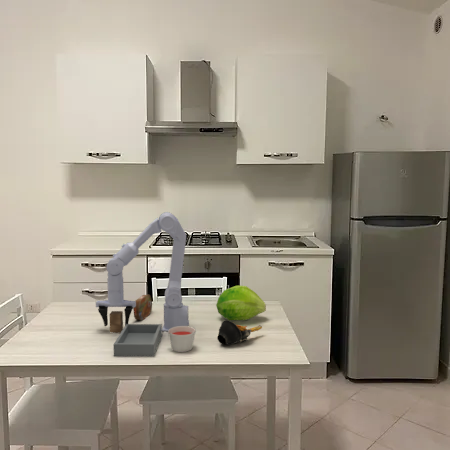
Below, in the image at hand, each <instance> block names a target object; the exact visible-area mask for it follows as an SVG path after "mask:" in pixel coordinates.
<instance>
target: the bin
mask: <svg viewBox="0 0 450 450" xmlns="http://www.w3.org/2000/svg"><path fill="white" fill-rule="evenodd" d="M162 328H163V324H162V323H156V324H155V323H128V324H126V325H125V324H124V326H123V330H122V331H121V333H119V335H118V336H117V338H116V339H115V341H114V342H113V357H155V355H156V352H157V349H158V347H159V344H160V342H161V338H162V336H163V331H162Z"/></svg>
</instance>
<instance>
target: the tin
mask: <svg viewBox="0 0 450 450" xmlns="http://www.w3.org/2000/svg"><path fill="white" fill-rule="evenodd" d="M135 301H136V307H133V309H132V311H133V317H134V319H135V320H136V321H144V320H145V319H146V318H147V317H148V316H150V315H151V313H152V310H153V299H152V297H151V295H150V294H143V295H141V296H140V297H138V298H137V299H135Z"/></svg>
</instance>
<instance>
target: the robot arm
mask: <svg viewBox="0 0 450 450" xmlns="http://www.w3.org/2000/svg"><path fill="white" fill-rule="evenodd" d="M162 231H164V232H165V233H166V234H168V235H169V236H170V237H171V238H172V239H173V242H172V251H171V260H170V267H169V268H170V269H169V277H168V283H167V287H166V289H165V291H164V303H163V325H162V332H169V329H171V328H173V327H177V326H189V325H190V319H189V306H188V305H185V304H183V297H182V296H183V295H182V291H181V289H182V276H183V268H184V267H183V266H184V261H185V259H184V258H185V253H186V251H185V249H186V241H187V233H186V232H185V230H184V227H183V225H182V224H181V222H180V221H179V219H178V218H177V217H176V216H175V215H174V214H173V213H172V212H170V211H169V212H168V211H165V212H163V213H161V214H160V215H159V217H157V218H155V219H153V221H151V222H150V223H149V224H148V225H147V226H146V227H145V228H144V230H142V232H141V233H140V234H139V235H138V236H137V237H136V238H135V239H134V240H133V241H132V242H126V243H123V244H122V245H121V248H120V249H119V250H118V251H117V252H116V253H114V254H112V257H111V258H110V259H109V260H108V262H107V263H106V272H107V282H106V283H107V299H106V300H96V302H95V308H97V310H98V313H99V314H100V316H101V318H102V322H103V325H104V327H107V326H108V324H109V323H108V322H109V321H108V313H109V312H108V310H109V309H108V308H113V307H114V308H124V311H123V312H124V326H125V325H126V324H129V322H130V317H131V314H132V312H133V307H136V300H127V299H125V298H124V295H125V294H124V276H123V274H124V273H123V270H124V267H126V266H128V265H129V264H130V262H131V261H132V260H134V258H136V256H137V255H139V253H140V251H139V248H140V247H141V246H143V244H145V243H146V242H147V241H148V240H149V239H150V238H151V237H152V236H153V235H155V234H159V233H160V234H161V233H162Z"/></svg>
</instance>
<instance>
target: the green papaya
mask: <svg viewBox="0 0 450 450" xmlns="http://www.w3.org/2000/svg"><path fill="white" fill-rule="evenodd" d="M215 307H216V309H217V312H218V314H219V315H221V317H223V318H225V320H229V321H240V322H241V321H248V320H250V319H252V318H254V317H256V316H258V315H259V314H262V313H265V312H266V310H267V304H266V303H265V302H264V300H263V299H262V298H261V297H260V295H258V294H257V292H255V291H254V290H253V289H251V288H249V286H246V285H235V286H232V287H229V288H226V289H224V290H223V292H221V294H219V296H218V299H217V302H216V304H215Z"/></svg>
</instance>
